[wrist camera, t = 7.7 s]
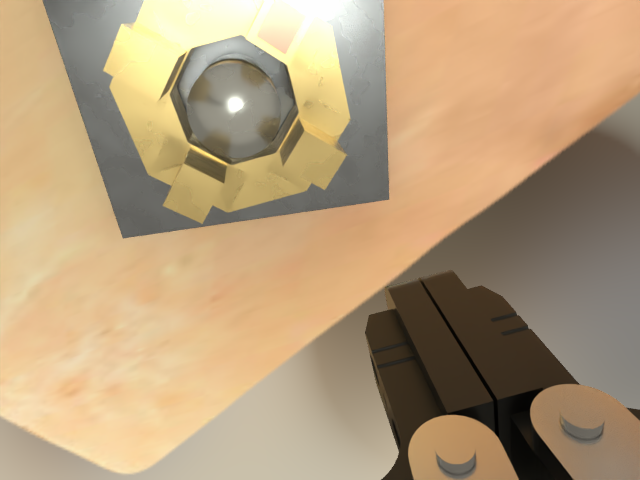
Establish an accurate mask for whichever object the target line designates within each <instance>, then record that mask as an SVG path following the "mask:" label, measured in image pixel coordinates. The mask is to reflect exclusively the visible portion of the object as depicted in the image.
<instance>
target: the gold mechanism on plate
mask: <svg viewBox="0 0 640 480" xmlns="http://www.w3.org/2000/svg"><path fill="white" fill-rule="evenodd" d="M299 1H300V2H301V3H303V4H304V5H306V6H307V7H309V8H310V9H312V10H313V11H314V12H316V16H317V17H319V18H320V19H322V20H323V21H325V22H326V23H328V24H329V25H330V26H332V30H333V35H334V40H335V45H336V50H337V55H338V60H339V65H340V70H341V75H342V79H343V84H344V89H345V94H346V99H347V104H348V109H349V114H350V119H351V120H350V121H349V123H348V124H347V126H346V128H345V129H344V131H343V133H342V134H341V136H340V137H339V139H338V142H339V144H340V145H341V147H342V148H343V150H344V151H345V153H346V154H347V156H346V157H345V159H344V161H343V162H342V164H341V165H340V167H339V169H338V170H337V172H336V173H335V175H334V176H333V178H332V180H331V181H330V183H329V184H328V186H327V188H326V189H325V190H324V189H322V188H320V187H318V186H316V185H314V184H313V183H311V185H310V186H309V188H308V189H307V191H304V192H301V193H297V194H294V195H290V196H286V197H283V198H279V199H275V200H272V201H268V202H265V203H261V204H257V205H254V206H250V207H246V208H243V209H239V210H236V211H232V212H228V213H227V212H225V211H223V210H221V209H219V208H217V207H215V206H213V205H212V207H211V209H210V211H209V213H208V215H207V216H206V218H205V220H204V222H203V224H201V223H199V222H197V221H195V220H193V219H191V218H188V217H186V216H184V215H182V214H180V213H177V212H175V211H173V210H171V209H169V208H166V207H164V206H163V204H164V201H165V199H166V197H167V195H168V192H169V190H170V188H171V185H169V184H166V183H164V182H162V181H160V180H158V179H156V178H154V177H152V176H150V175H148V173H147V171H146V169H145V166H144V164H143V162H142V160H141V157H140V155H139V153H138V151H137V148H136V146H135V144H134V142H133V139H132V137H131V135H130V133H129V130H128V128H127V126H126V123H125V121H124V119H123V117H122V114H121V112H120V110H119V108H118V105H117V103H116V101H115V99H114V96H113V94H112V92H111V90H110V87H109V86H110V84H111V81H112V79H113V76H112V75H110V74H108V73H106V72H104V71H103V69H104V67H105V64H106V62H107V59H108V57H109V54H110V52H111V49H112V47H113V44H114V42H115V39H116V37H117V34H118V32H119V29H120V27H121V24H126V23H135V22H136V20H137V18H138V15H139V13H140V10H141V8H142V5H143V3H144V0H43V3H44V6H45V9H46V12H47V15H48V18H49V21H50V24H51V27H52V30H53V33H54V36H55V39H56V42H57V44H58V47H59V50H60V53H61V56H62V59H63V62H64V65H65V68H66V71H67V74H68V77H69V80H70V83H71V86H72V89H73V92H74V95H75V98H76V101H77V104H78V107H79V110H80V113H81V116H82V119H83V121H84V124H85V127H86V130H87V133H88V136H89V139H90V142H91V145H92V148H93V151H94V154H95V157H96V160H97V163H98V166H99V169H100V172H101V175H102V178H103V181H104V184H105V187H106V190H107V193H108V196H109V199H110V201H111V204H112V207H113V210H114V213H115V216H116V219H117V222H118V225H119V228H120V231H121V234H122V237H123V238H128V237H135V236H142V235H149V234H156V233H163V232H170V231H176V230H183V229H190V228H197V227H204V226H211V225H218V224H225V223H231V222H238V221H245V220H252V219H259V218H266V217H273V216H279V215H286V214H293V213H300V212H307V211H314V210H321V209H327V208H334V207H341V206H348V205H355V204H362V203H369V202H375V201H382V200H389V178H388V142H387V107H386V71H385V36H384V0H299ZM177 89H178V92H179V94H180V97H181V100H182V102H183V105H184V108H185V110H186V113H187V116H188V121H189V124H190V127H191V129H192V131H193V133H194V134H195V136H196V137H197V139H198V140H199V141H200V142H201V143H202V144H203V145H204V146H205V147H206V148H208V149H209V150H211V151H212V152H214V153H216V154H218V155H221V156H224V157H229V158H244V157H249V156H252V155H254V154H256V153H258V152H260V151H262V150H263V149H264V148H266V147H267V146H268V145H269V144H270V143H271V142H272V141H274V139H275V138H276V136H277V134H278V132H279V131H280V129H281V127H282V125H283V123H284V122H285V120H286V118H287V116H288V115H289V113H290V111H291V109H292V107H293V106H294V104H295V102H294V99H293V95H292V91H291V87H290V83H289V79H288V75H287V71H286V68H285V64H284V63H283V62H282V61H280V60H278V59H277V58H275V57H274V56H272V55H271V54H269V53H267V52H266V51H264V50H263V49H261V48H259V47H258V46H256V45H255V44H253V43H251V42H250V41H248V40H247V39H246V37H244V36H243V35H238V36H234V37H230V38H226V39H223V40H219V41H215V42H212V43H208V44H204V45H201V46H197V47H195V49H194V51H193V53H192V55H191V57H190V59H189V62H188V64H187V66H186V68H185V70H184V72H183V75H182V77H181V79H180V81H179V83H178V85H177Z"/></svg>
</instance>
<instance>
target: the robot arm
mask: <svg viewBox="0 0 640 480" xmlns="http://www.w3.org/2000/svg"><path fill="white" fill-rule="evenodd" d="M385 295H386V301H387V307H388V310H387V311H383V312H379V313H375V314H371V315H369V318H368V322H367V327H366V331H365V334H366V339H367V344H368V348H369V353H370V357H371V362H372V366H373V371H374V375H375V380H376V384H377V387H378V390H379V393H380V396H381V399H382V402H383V405H384V408H385V411H386V414H387V417H388V419H389V423H390V426H391V429H392V432H393V435H394V438H395V441H396V444H397V447H398V450H399V455H398V458H397V460H396V462H395V464H394V466H393V467H392V469H391V470H390V471H389V473H388V474H387V475H386V476H385V477H384V478H383V479H381V480H640V410H637V409H631V408H626V407H625V406H624V405H622V404H621V403H620V402H619V401H618V400H616V399H614V398H613V397H611V396H610V395H608V394H606V393H604V392H602V391H600V390H597V389H595V388H592V387H588V386H584V385H580V384H579V383H578V382H577V381H576V380H575V379H574V378H573V377H572V376H571V374H570V373H569V372H568V371H567V370H566V369H565V367H564V366H563V365H562V364H561V363H560V362H559V361H558V359H557V358H556V357H555V356H554V355H553V354H552V353H551V352H550V350H549V349H548V348H547V347H546V346H545V345H544V343H543V342H542V341H541V340H540V339H539V338H538V337H537V335H536V334H535V333H534V332H533V331H532V330H531V329H528V325H527V324H526V323H525V322H524V321H523V320H522V318H521V317H520V316H517V314H516V312H515V311H514V309H513V308H512V307H511V306H510V305H509V303H508V302H507V301H506V300H505V299H504V298H503V297H502V296H501V295H499V294H497V293H495V292H493V291H491V290H489V289H487V288H485V287H483V286H478V287H474V288H470V289H467V288H466V287H465V286H464V284H463V283H462V282H461V280H460V279H459V278H458V277H457V275H456V274H455V273H454V272H453V271H452V270H448V271H445V272H440V273H436V274H433V275H429V276H425V277H421V278H419V279H414V280H410V281H406V282H403V283H399V284H395V285H391V286H387V287H385Z"/></svg>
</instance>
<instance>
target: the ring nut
mask: <svg viewBox="0 0 640 480" xmlns="http://www.w3.org/2000/svg"><path fill="white" fill-rule="evenodd" d="M238 35H243V36H244V37H246V39H247V40H248V41H250V42H251V43H253V44H255V45H256V46H258V47H259V48H261V49H263V50H264V51H266V52H267V53H269V54H271V55H272V56H274V57H275V58H277V59H278V60H280V61H282V62H283V63H284V64H285V68H286V71H287V75H288V79H289V83H290V87H291V91H292V95H293V99H294V102H295V104H294V106H293V107H292V109H291V111H290V113H289V115H288V116H287V118H286V120H285V122H284V123H283V125H282V127H281V129H280V131H279V132H278V134H277V136H276V138H275V139H274V141H272V142H271V143H270V144H269V145H268V146H267V147H266V148H264V149H263V150H262V151H260V152H258V153H256V154H254V155H252V156H249V157H244V158H229V157H224V156H221V155H218V154H216V153H214V152H212V151H211V150H209V149H208V148H206V147H205V146H204V145H203V144H202V143H201V142H200V141H199V140H198V139H197V137H196V136H195V134H194V133H193V131H192V129H191V127H190V124H189V121H188V116H187V113H186V110H185V108H184V105H183V102H182V100H181V97H180V94H179V92H178V89H177V85H178V83H179V81H180V79H181V77H182V75H183V72H184V70H185V68H186V66H187V64H188V62H189V59H190V57H191V55H192V53H193V51H194V49H195V47H197V46H201V45H204V44H208V43H212V42H215V41H219V40H223V39H226V38H230V37H234V36H238ZM103 71H104V72H106V73H108V74H110V75H112V76H113V79H112V81H111V84H110V86H109V87H110V90H111V92H112V94H113V96H114V99H115V101H116V103H117V105H118V108H119V110H120V112H121V114H122V117H123V119H124V121H125V123H126V126H127V128H128V130H129V133H130V135H131V137H132V139H133V142H134V144H135V146H136V148H137V151H138V153H139V155H140V157H141V160H142V162H143V164H144V166H145V169H146V171H147V173H148V175H150V176H152V177H154V178H156V179H158V180H160V181H162V182H164V183H166V184H169V185H171V188H170V190H169V192H168V195H167V197H166V199H165V201H164V204H163V206H164V207H166V208H169V209H171V210H173V211H175V212H177V213H180V214H182V215H184V216H186V217H188V218H191V219H193V220H195V221H197V222H199V223H201V224H203V222H204V220H205V218H206V216H207V215H208V213H209V211H210V209H211V207H212V205H213V206H215V207H217V208H219V209H221V210H223V211H225V212H227V213H228V212H232V211H236V210H239V209H243V208H246V207H250V206H254V205H257V204H261V203H265V202H268V201H272V200H275V199H279V198H283V197H286V196H290V195H294V194H297V193H301V192H304V191H307V189H308V188H309V186H310V185H311V183H313V184H314V185H316V186H318V187H320V188H322V189H324V190H325V189H326V188H327V186H328V184H329V183H330V181H331V180H332V178H333V176H334V175H335V173H336V172H337V170H338V169H339V167H340V165H341V164H342V162H343V161H344V159H345V157H346V156H347V154H346V153H345V151H344V150H343V148H342V147H341V145H340V144H339V142H338V139H339V137H340V136H341V134H342V133H343V131H344V129H345V128H346V126H347V124H348V123H349V121H350V120H351V119H350V114H349V109H348V104H347V99H346V94H345V89H344V84H343V79H342V75H341V70H340V65H339V60H338V55H337V50H336V45H335V40H334V35H333V30H332V26H330V25H329V24H328V23H326V22H325V21H323V20H322V19H320V18H319V17H317V16H316V12H314V11H313V10H312V9H310V8H309V7H307V6H306V5H304V4H303V3H301V2H300V1H299V0H144V3H143V5H142V8H141V10H140V13H139V15H138V18H137V20H136V22H135V23H126V24H121V27H120V29H119V32H118V34H117V37H116V39H115V42H114V44H113V47H112V49H111V52H110V54H109V57H108V59H107V62H106V64H105V67H104V69H103Z"/></svg>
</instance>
